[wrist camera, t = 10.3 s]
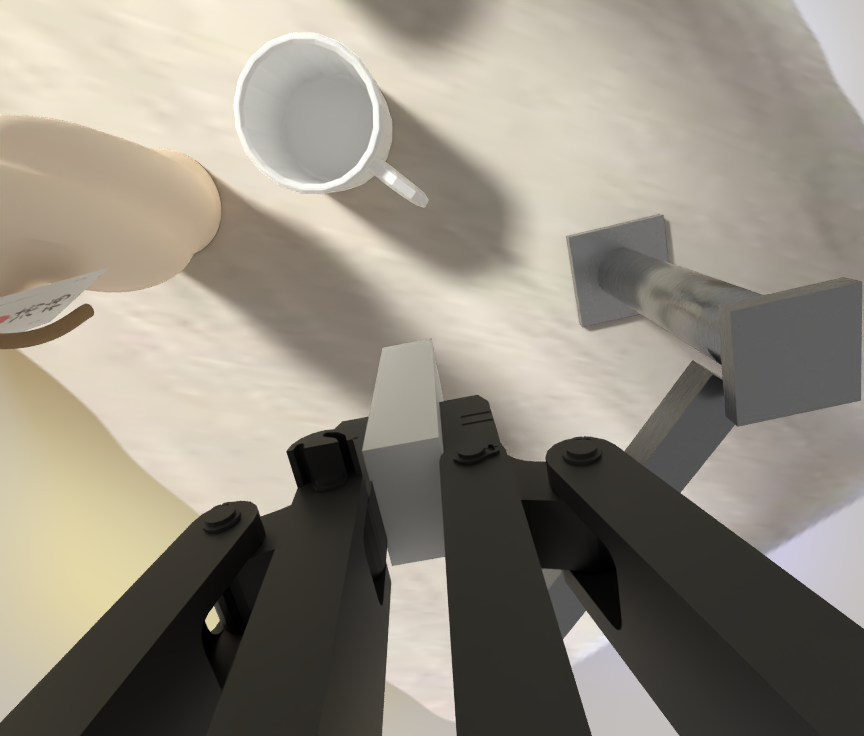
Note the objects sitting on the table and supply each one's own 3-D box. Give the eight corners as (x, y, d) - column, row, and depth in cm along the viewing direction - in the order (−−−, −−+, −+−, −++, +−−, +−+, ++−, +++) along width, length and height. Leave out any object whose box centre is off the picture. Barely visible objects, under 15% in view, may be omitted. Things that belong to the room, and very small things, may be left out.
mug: (395, 245, 43) (386, 263, 33) (256, 143, 40) (206, 133, 31) (459, 152, 41) (469, 145, 31) (318, 40, 38) (283, -4, 29)
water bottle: (269, 197, 41) (-8, 232, 15) (212, 297, 44) (-118, 482, 17) (140, 110, 39) (-446, -29, 13) (87, 220, 42) (-503, 293, 15)
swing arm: (689, 358, 27) (712, 373, 25) (732, 383, 27) (758, 401, 25) (484, 634, 32) (489, 666, 30) (523, 651, 32) (530, 684, 30)
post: (566, 236, 42) (702, 292, 22) (659, 214, 42) (889, 249, 21) (579, 324, 45) (715, 452, 24) (668, 304, 44) (885, 417, 23)
